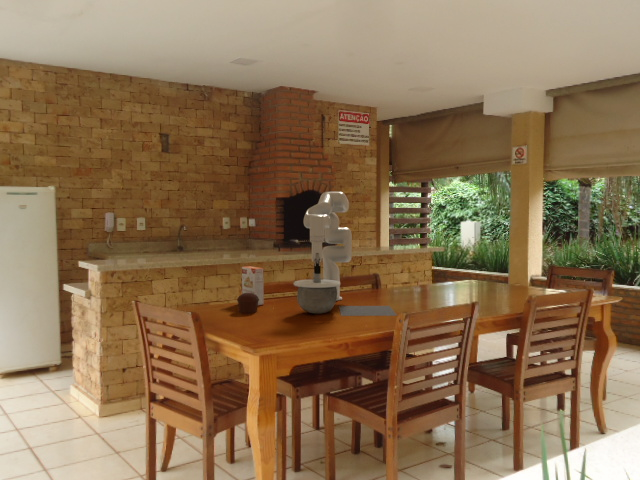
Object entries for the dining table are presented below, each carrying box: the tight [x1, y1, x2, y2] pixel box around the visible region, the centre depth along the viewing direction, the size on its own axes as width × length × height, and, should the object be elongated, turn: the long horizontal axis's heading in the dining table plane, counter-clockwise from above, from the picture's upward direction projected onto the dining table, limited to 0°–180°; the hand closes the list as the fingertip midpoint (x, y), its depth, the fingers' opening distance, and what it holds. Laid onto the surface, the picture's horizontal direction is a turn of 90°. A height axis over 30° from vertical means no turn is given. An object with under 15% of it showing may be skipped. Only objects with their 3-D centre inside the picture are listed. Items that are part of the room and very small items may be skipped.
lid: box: [293, 271, 341, 288], centre depth 306 cm, size 24×24×6 cm
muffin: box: [236, 293, 259, 315], centre depth 310 cm, size 12×11×10 cm
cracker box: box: [241, 265, 265, 307], centre depth 334 cm, size 14×6×21 cm, turn 40°
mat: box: [338, 305, 398, 317], centre depth 311 cm, size 28×28×1 cm
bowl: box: [296, 287, 337, 315], centre depth 306 cm, size 20×20×15 cm
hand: (317, 272), depth 306 cm, fingers open, 9 cm apart
